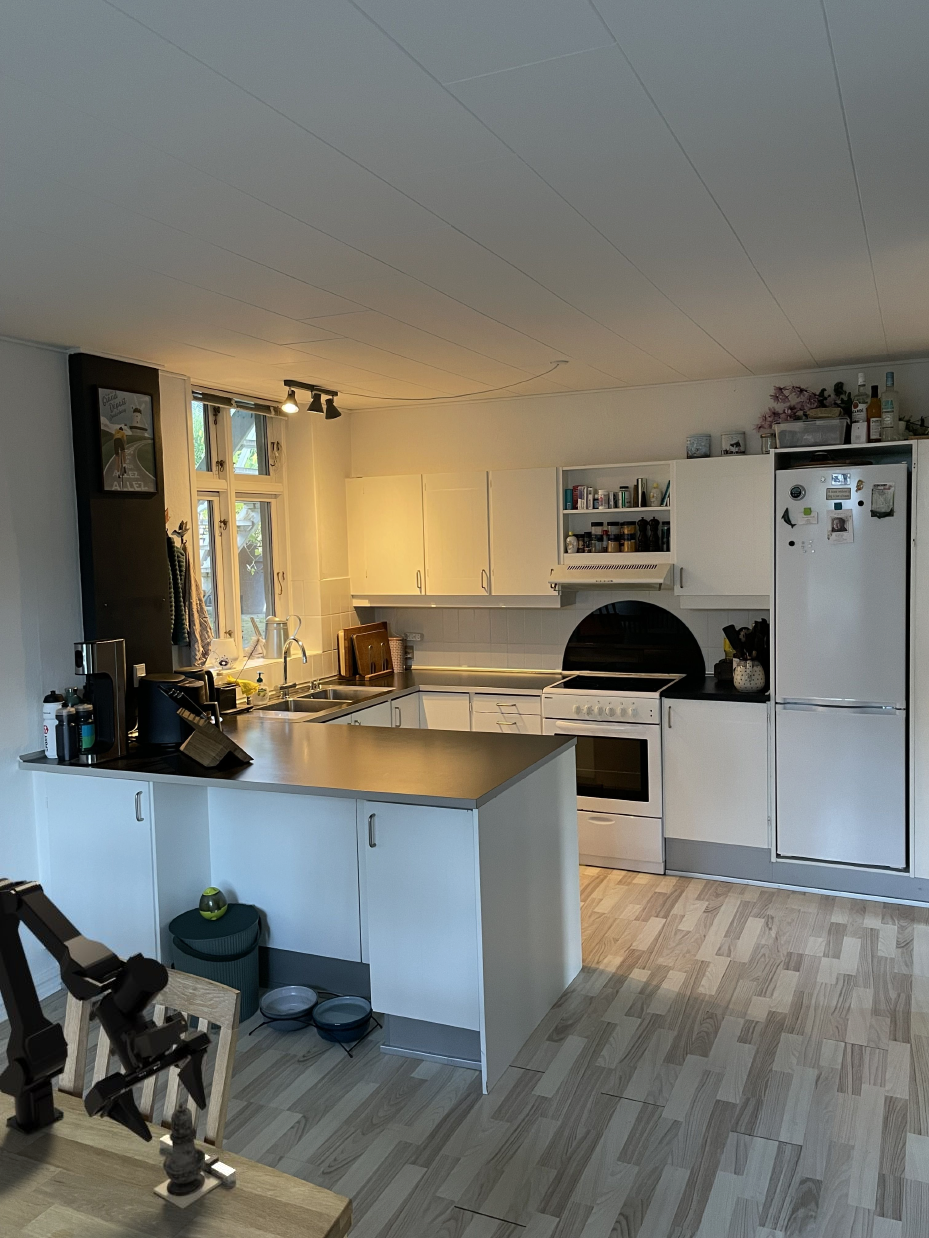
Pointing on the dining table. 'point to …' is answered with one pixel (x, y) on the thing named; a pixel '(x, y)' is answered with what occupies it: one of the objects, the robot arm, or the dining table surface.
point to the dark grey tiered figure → (184, 1156)
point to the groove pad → (186, 1200)
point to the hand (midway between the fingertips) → (178, 1124)
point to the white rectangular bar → (206, 1163)
